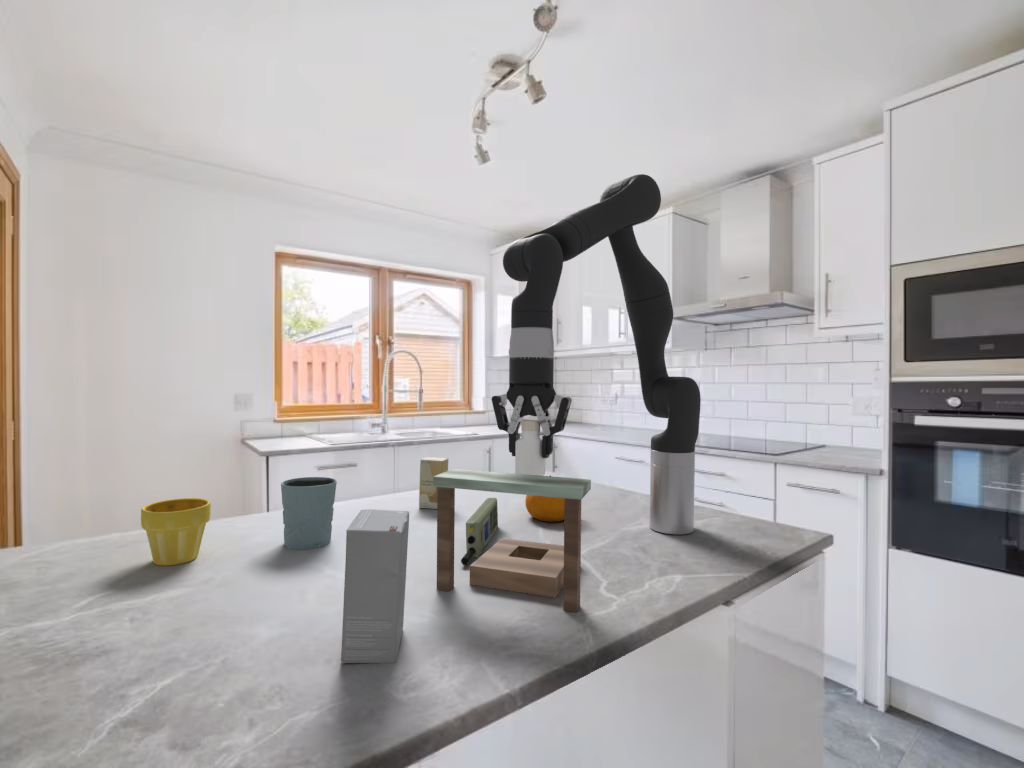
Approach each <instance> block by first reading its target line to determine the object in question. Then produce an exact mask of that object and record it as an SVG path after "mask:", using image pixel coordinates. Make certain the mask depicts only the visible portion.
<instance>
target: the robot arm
mask: <svg viewBox="0 0 1024 768" xmlns="http://www.w3.org/2000/svg"><path fill="white" fill-rule="evenodd" d="M661 203H662V193H661V190H660V188H659V185H658V184H657V181H656V179H654V178H653V177H651V176H650V175H648V174H644V173H643V174H642V173H641V174H634V175H632V176H629V177H627V178H624V179H623V180H620V181H618V182H614V183H612V184H610V185H608V186H606V187H604V189H602V191H601V193H600V198H599V202H596V203H594V204H592V205H590V206H587V207H585V208H582V209H579V210H577V211H575V212H573V213H571V214H569V215H567V216H565V217H563V218H561V219H559V220H557V221H556V222H553V223H552V224H551V225H549V226H547V227H546V228H544V229H541V230H539V231H535V232H534V233H530V234H528V235H525V236H523V237H520V238H519V239H516V240H515V241H513V242H512V243H510V244H509V245H508V246H507V247H506V249H505V251H504V253H503V256H502V267H503V269H504V272H505V273H506V274H507V276H508V277H509V278H510V279H512V280H514V281H516V282H525V283H526V284H525V288H524V290H523V291H522V292H520V293H519V294H517V295H515V296H514V297H513V299H512V300H511V310H510V313H511V314H510V316H511V317H510V319H511V320H510V325H511V326H510V337H509V349H508V356H509V359H508V360H509V362H508V365H509V367H508V368H509V369H508V384H509V385H508V389H507V391H506V393H504V394H503V393H502V394H499V395H492V397H491V403H492V408H493V411H494V417H495V421H496V424H497V429H498V430H500V431H503V432H506V433H507V434H508V452H509V453H511V456H512V457H515V447H516V440H518V439H520V438H521V434H520V433H519V430H520V429H521V428H520V427H521V426H522V420H524V419H525V416H532V417H537V420H538V421H539V423H540V428H541V430H542V433H543V435H542V438H541V439H542V458H545V459H548V458H550V456H551V455H552V454H553V451H554V436H555V434H557V433H560V432H563V431H564V429H565V428H566V422H567V419H568V416H569V411H570V409H571V405H572V398H571V397H570V396H564V395H563V396H562V395H559V394H557V392H556V390H555V387H554V380H555V379H554V376H555V375H554V373H555V372H554V370H555V368H554V363H555V362H554V357H555V356H554V355H555V354H554V353H555V341H554V340H555V339H554V331H553V318H554V317H553V315H554V313H553V312H554V311H553V310H554V309H553V306H554V303H555V302H554V301H555V299H556V296H557V292H558V289H559V284H560V280H561V275H562V273H563V266H564V262H568V261H570V260H573V259H574V258H576V257H577V256H579V255H582V254H583V253H584V252H586V251H587V250H589V249H591V248H592V247H593V246H595V245H596V244H598V243H600V242H602V241H603V240H604V239H606V238H607V237H608V240H609V241H608V242H609V243H610V247H611V251H612V252H613V257H614V260H615V263H616V266H617V271H618V275H619V280H620V283H621V287H622V291H623V296H624V297H623V298H624V303H625V307H626V311H627V316H628V319H629V323H630V327H631V332H632V336H633V342H634V346H635V350H636V357H637V361H638V370H639V379H640V387H641V394H642V399H643V403H644V407H645V408H646V410H647V412H648V413H649V414H650V415H652V416H653V417H655V418H661V419H667V425H666V428H665V429H664V431H662V432H661V433H657V434H655V435H652V436H651V438H650V469H649V470H650V472H649V473H650V477H649V478H650V480H649V482H650V483H649V528H650V529H651V530H653V531H655V532H658V533H661V534H662V533H663V534H667V535H687V534H692V533H693V532H694V530H695V529H694V523H695V521H694V520H695V467H696V463H695V461H696V460H695V459H696V444H697V441H698V437H699V432H700V431H699V428H700V415H701V405H702V404H701V401H702V399H701V391H700V388H699V385H698V383H697V382H696V381H695V379H693V378H692V377H687V376H669V374H668V369H667V366H666V360H665V351H666V349H665V348H666V343H667V341H668V338H669V335H670V332H671V328H672V325H673V322H674V309H673V308H674V307H673V303H672V298H671V293H670V290H669V285H668V282H667V281H666V279H665V278H664V276H663V275H662V273H660V271H659V270H658V269H657V268H656V267H655V266H654V264H653V263H652V262H650V260H649V259H648V258H647V257H646V256H645V254H644V252H642V249H641V248H640V247H639V246H640V245H639V244H638V241H637V238H636V235H635V231H634V228H633V227H634V226H637V225H639V224H642V223H645V222H648V221H649V220H651V219H653V218H654V217H655V216H656V215H657V214H658V213H659V210H660V208H661ZM508 402H509V403H510V405H511V406H512V408H513V411H512V414H511V416H510V422H509V419H508V416H507V415H508V413H507V409H506V407H507V405H508ZM554 402H555V407H556V408H557V409H558V411H557V415H556V419H555V423H554V425H553V422H552V418H551V415H550V412H549V409H550V408H551V405H552V404H553V403H554Z"/></svg>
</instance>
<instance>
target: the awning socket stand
mask: <svg viewBox="0 0 1024 768" xmlns="http://www.w3.org/2000/svg"><path fill="white" fill-rule="evenodd" d="M591 484H592V480H591V478H590V479H589V478H576V477H575V478H574V477H560V476H552V475H543V476H538V475H525V474H515V473H510V472H498V471H497V472H496V471H486V470H485V471H484V470H471V469H469V470H468V469H458V468H452V469H450V470H449V469H448V471H447V472H444V473H441V474H439V475H436V476H433V486H434V487H437V509H436V511H437V512H436V516H437V517H436V590H437V589H439V590H438V591H443V590H445V592H449V591H451V590H452V589H453V588H454V587H455V516H456V515H455V514H456V513H455V512H456V511H455V509H456V508H455V506H456V505H455V504H456V503H455V501H456V498H455V497H456V493H455V492H456V489H459V490H470V491H480V492H491V493H492V492H493V493H503V494H515V495H524V496H525V495H535V496H546V497H557V498H565V503H564V520H563V523H564V524H563V525H564V526H563V545H561V544H554V543H546V542H536V541H528V540H520V539H512V538H503V537H502V538H500V539H499V540H498V541H497V542H496V543H495V544H493V545H492V546H491V547H490V548H489V549H488V550H487V551H485V552H484V553H483V554H482V555H480V556H478V558H477V559H476V560H475V561H474V562H472V563H471V564H470V565H469V586H470V585H472V586H476V585H477V587H482V586H483V588H489V587H492V588H491V589H495V588H496V590H504V591H508V590H509V592H516V593H521V592H522V594H527V593H528V595H535V596H541V597H549V598H557V596H558V595H559V594H560V592H561V590H562V588H563V592H562V593H563V594H562V595H563V601H562V603H563V604H562V606H563V607H562V608H563V609H562V610H563V611H568V612H573V613H578V612H579V609H580V607H581V567H582V566H581V560H582V558H581V557H582V554H581V553H582V551H581V550H582V500H583V499H584V498H585V496H586V495H587V494H588V493H589V492H590V491H591V490H592V489H591V487H592V485H591ZM484 586H485V587H484ZM452 587H453V588H452Z"/></svg>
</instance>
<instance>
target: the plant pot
mask: <svg viewBox="0 0 1024 768" xmlns="http://www.w3.org/2000/svg"><path fill="white" fill-rule="evenodd" d="M211 507H212V505H211V501H210V500H209V499H207V498H200V497H182V498H172V499H164V500H159V501H155V502H151V503H148V504H145V505H144V506H142V507H141V510H140V525H141V528H142V530H144V531H145V532H146V533H145V534H146V537H147V541H148V545H149V548H150V552H151V557H152V558H151V559H152V561H153V562H152V563H153V564H155V565H156V566H177V565H181V564H186V563H189V562H192V561H193V560H195V559H197V557H198V556H199V552H200V548H201V545H202V539H203V536H204V533H205V528H206V525H207V524H206V523H208V522H210V519H211V512H212V511H211V510H212V509H211Z"/></svg>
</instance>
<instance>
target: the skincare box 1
mask: <svg viewBox="0 0 1024 768" xmlns="http://www.w3.org/2000/svg"><path fill="white" fill-rule="evenodd" d="M409 526H410V512H409V511H408V510H386V509H361V510H360V511H359V512H358V513H357V515H356V517H355V518H354V519H353V520H352V522H351V523H350V524H349V526H348V527H347V529H346V530H345V532H346V538H345V566H344V587H343V588H344V589H343V612H342V633H341V652H340V653H341V654H340V655H341V657H340V662H341V664H369V663H370V664H377V663H379V664H382V663H383V664H384V663H388V664H389V663H395V662H396V661H397V656H398V653H399V648H400V643H401V638H402V636H403V635H402V634H403V630H404V616H405V602H406V601H405V600H406V599H405V598H406V582H407V567H408V565H407V564H408V563H407V561H408V547H409V545H408V544H409V543H408V542H409Z"/></svg>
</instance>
